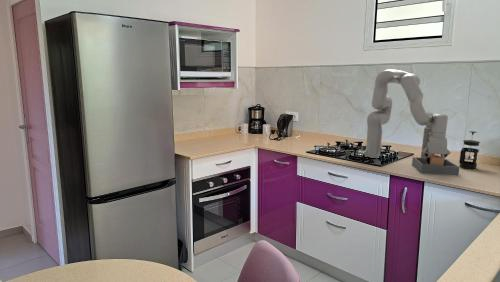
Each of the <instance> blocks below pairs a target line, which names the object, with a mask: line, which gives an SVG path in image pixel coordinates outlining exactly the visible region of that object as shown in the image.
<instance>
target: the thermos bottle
mask: <svg viewBox="0 0 500 282" xmlns="http://www.w3.org/2000/svg"><path fill="white" fill-rule="evenodd" d="M431 131H432V125H425V127H424V129H423V135H422V137H423V138H422V143H421V153H420V158H427V157H426V156H425V154H424V153H423V152H422V150H423V149H425V148H426V147H427V144H428V140H429V138H430V136H431V135H429V133H430V132H431ZM425 152H426V153H427V154H428V152H427V150H426V151H425ZM431 155H436V154H431Z"/></svg>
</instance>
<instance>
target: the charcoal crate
mask: <svg viewBox="0 0 500 282" xmlns="http://www.w3.org/2000/svg"><path fill="white" fill-rule="evenodd" d="M426 160H427V158H421V157H417V156H416V157H414V156H412V162H411V165H412V166H413V167H414V168H415V169H416V170H417V171H418V172H419V173H420V174H426V175H427V174H429V175H431V174H432V175H443V176H457V177H459V174H460V169H461V168H460V167H459V166H458V165H457V164H456V163H453V162H452V161H450V160H449V159H447V158H445V159H444V164H443V166H439V165H427V164H426Z"/></svg>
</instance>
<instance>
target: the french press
mask: <svg viewBox="0 0 500 282" xmlns="http://www.w3.org/2000/svg"><path fill="white" fill-rule="evenodd" d="M469 133H471V139H464V140H462V141H463V145H465V146H470V147H462V148H461V149H460V155H459V163H458V164H459V166H458V167H460V168H459V169H463V168H464V169H463V170H469V169H471V171H475V170H474V169H476V170H478V169H477V168H478V167H477V165H478V163H477V160H478V153H479V152H480V149H478V148H474V147H479V145H480V144H481V142H480V141H479V140H473V138H474V134H476V133H478V132H477V131H472V130H471V131H469ZM473 146H474V147H473ZM466 153H469V154H468V156H466ZM471 153H473V156H471Z"/></svg>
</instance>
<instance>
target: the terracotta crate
mask: <svg viewBox="0 0 500 282" xmlns="http://www.w3.org/2000/svg"><path fill="white" fill-rule="evenodd" d="M426 164H427V162H426ZM443 164H444V158H443V157H441V155H440V154H435V155H431V156H430V164H427V165H439V166H443Z"/></svg>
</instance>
